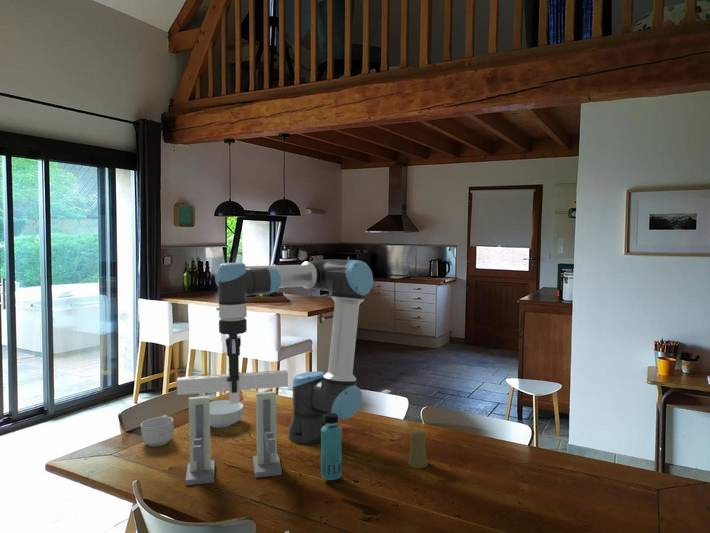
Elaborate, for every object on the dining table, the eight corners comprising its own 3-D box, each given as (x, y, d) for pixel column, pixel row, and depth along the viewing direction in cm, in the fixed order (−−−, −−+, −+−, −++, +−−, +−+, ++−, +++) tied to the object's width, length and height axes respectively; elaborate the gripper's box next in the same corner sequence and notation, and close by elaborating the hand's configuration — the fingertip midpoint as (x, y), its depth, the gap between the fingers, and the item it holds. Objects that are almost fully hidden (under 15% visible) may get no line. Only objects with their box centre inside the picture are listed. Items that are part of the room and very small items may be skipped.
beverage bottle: (326, 487, 151) (325, 419, 150) (316, 477, 157) (316, 412, 156) (346, 482, 154) (346, 416, 153) (336, 473, 160) (336, 409, 159)
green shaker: (429, 461, 168) (430, 428, 167) (424, 469, 163) (424, 435, 162) (412, 458, 171) (412, 425, 170) (405, 465, 165) (406, 432, 165)
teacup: (163, 451, 177) (162, 427, 176) (134, 448, 179) (133, 425, 178) (184, 435, 190) (183, 413, 190) (157, 433, 192) (157, 411, 192)
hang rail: (286, 383, 152) (286, 370, 151) (288, 386, 149) (287, 372, 149) (178, 391, 144) (177, 377, 144) (177, 394, 141) (176, 380, 141)
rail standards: (277, 458, 171) (277, 386, 169) (285, 492, 149) (285, 409, 147) (188, 467, 164) (186, 392, 162) (182, 504, 142) (180, 417, 140)
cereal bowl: (237, 432, 193) (237, 414, 192) (193, 432, 193) (192, 413, 192) (247, 416, 210) (247, 399, 209) (206, 416, 210) (206, 399, 209)
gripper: (218, 314, 152) (220, 393, 154) (218, 324, 137) (220, 411, 138) (245, 313, 154) (246, 391, 156) (247, 322, 138) (249, 409, 140)
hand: (234, 401), depth 147 cm, fingers closed on hang rail, 3 cm apart
